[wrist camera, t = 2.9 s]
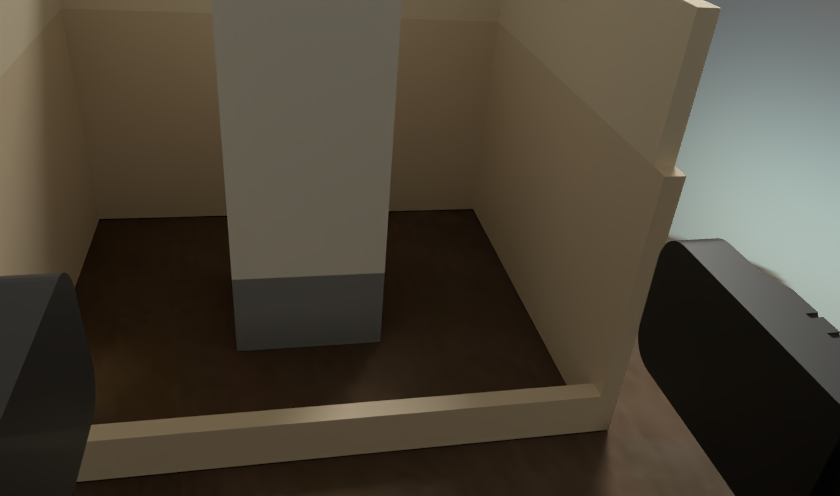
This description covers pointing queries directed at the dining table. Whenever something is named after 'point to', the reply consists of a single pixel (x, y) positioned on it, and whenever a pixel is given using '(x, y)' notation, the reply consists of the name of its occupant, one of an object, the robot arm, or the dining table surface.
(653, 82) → the storage bin
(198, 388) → the dining table surface
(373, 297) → the box
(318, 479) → the dining table surface
